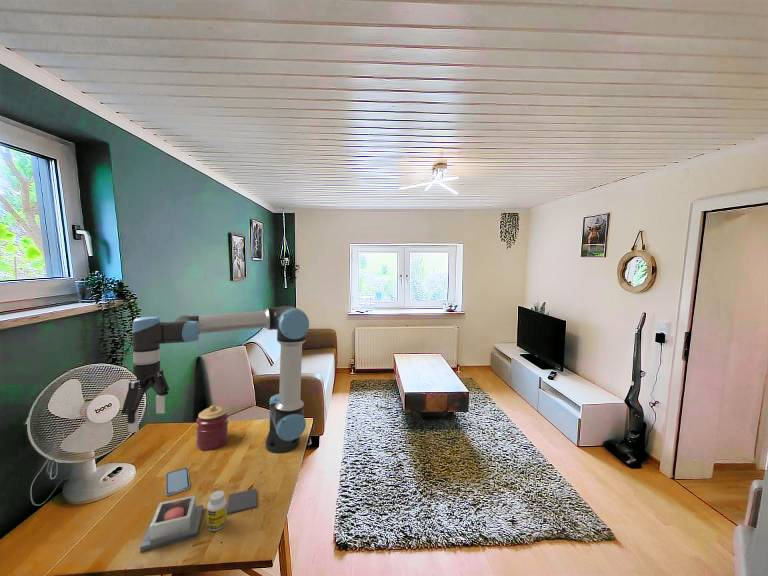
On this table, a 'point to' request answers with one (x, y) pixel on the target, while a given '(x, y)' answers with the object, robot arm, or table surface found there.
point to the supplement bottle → (216, 511)
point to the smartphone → (177, 481)
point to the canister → (212, 428)
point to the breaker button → (174, 513)
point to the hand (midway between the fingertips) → (147, 421)
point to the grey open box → (173, 524)
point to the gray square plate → (242, 501)
